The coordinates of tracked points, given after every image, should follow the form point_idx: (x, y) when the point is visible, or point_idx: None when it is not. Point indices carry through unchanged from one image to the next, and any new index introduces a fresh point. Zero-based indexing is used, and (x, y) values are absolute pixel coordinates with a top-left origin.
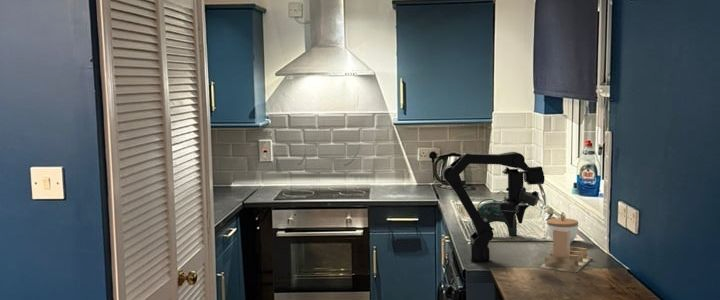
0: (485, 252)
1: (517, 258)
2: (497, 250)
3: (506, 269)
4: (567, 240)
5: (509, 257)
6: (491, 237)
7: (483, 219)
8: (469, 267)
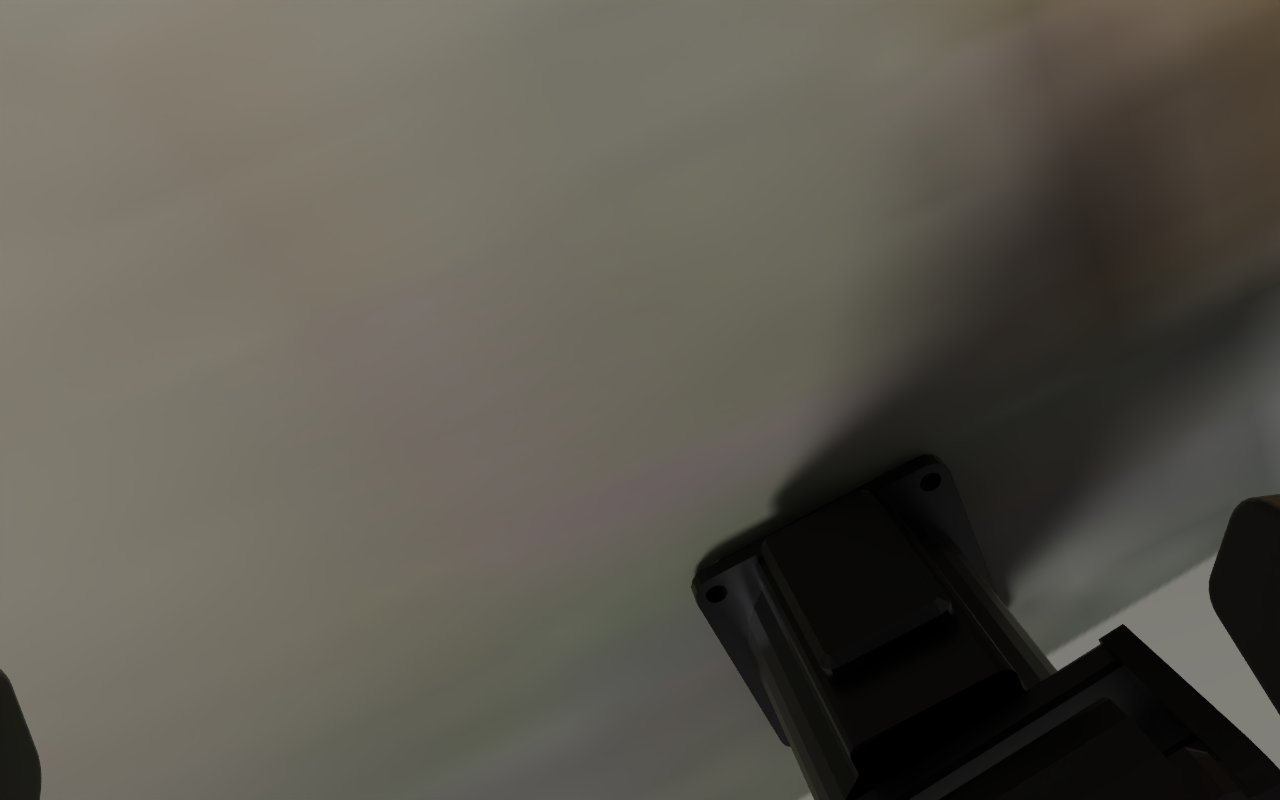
0: (961, 597)
1: (434, 145)
2: (90, 691)
3: (1266, 12)
4: None
5: (448, 312)
6: (1140, 736)
7: None
8: None
